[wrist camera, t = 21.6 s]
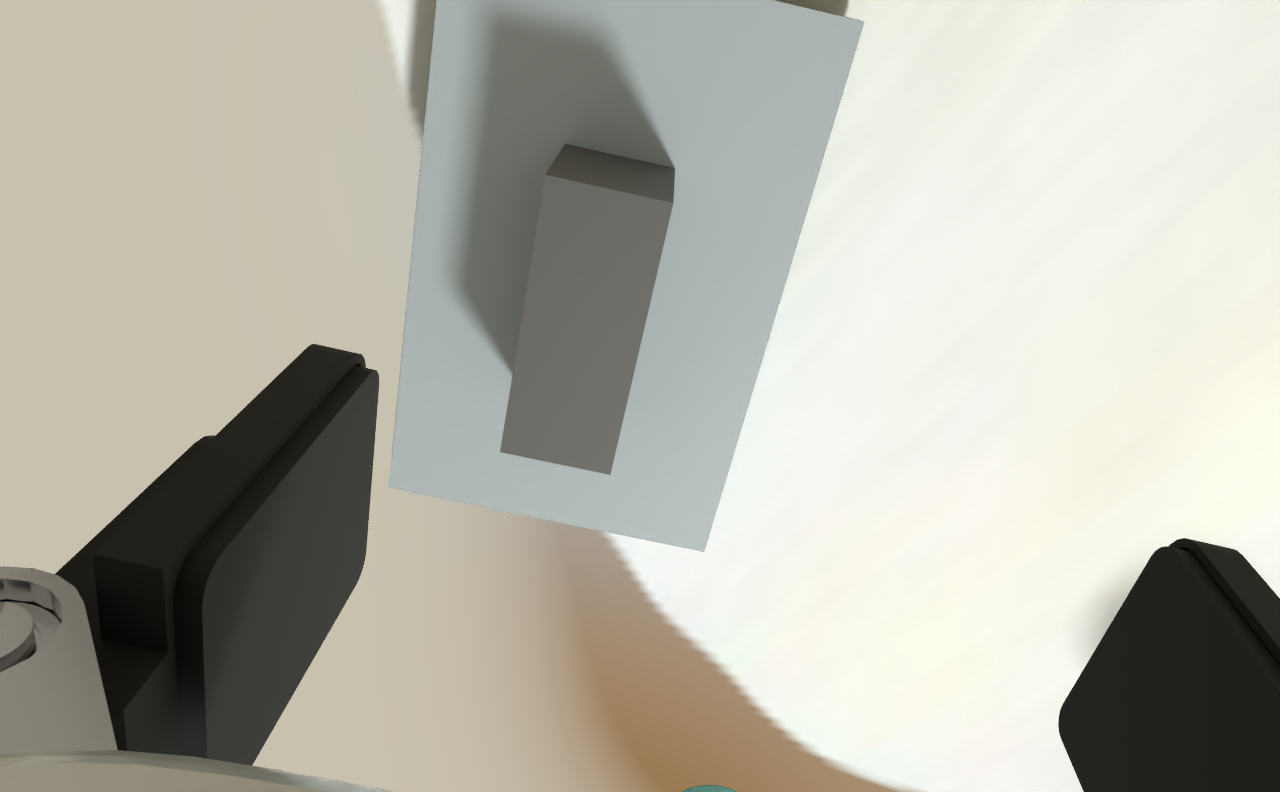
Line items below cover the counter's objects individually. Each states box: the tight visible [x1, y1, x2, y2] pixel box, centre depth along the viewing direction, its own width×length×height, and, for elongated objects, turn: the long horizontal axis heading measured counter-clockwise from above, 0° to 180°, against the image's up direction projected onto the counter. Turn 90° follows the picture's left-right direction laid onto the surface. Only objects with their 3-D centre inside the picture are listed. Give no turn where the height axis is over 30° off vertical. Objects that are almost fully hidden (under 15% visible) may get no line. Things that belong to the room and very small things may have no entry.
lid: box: [389, 0, 864, 552], centre depth 32 cm, size 22×14×7 cm, turn 168°
